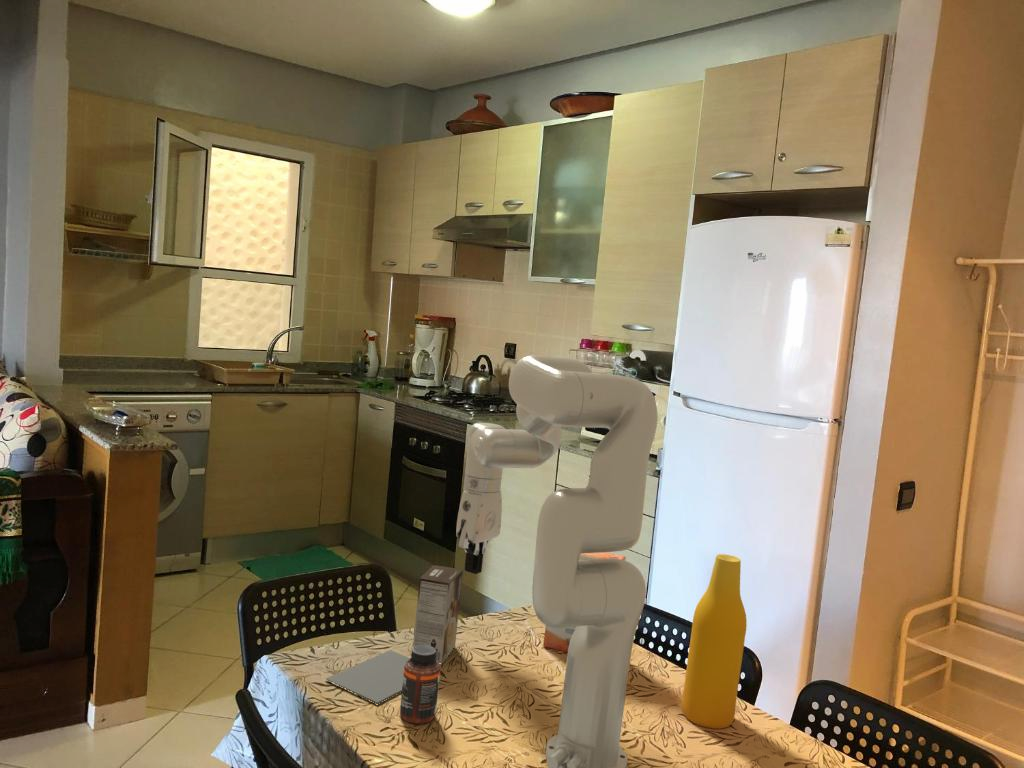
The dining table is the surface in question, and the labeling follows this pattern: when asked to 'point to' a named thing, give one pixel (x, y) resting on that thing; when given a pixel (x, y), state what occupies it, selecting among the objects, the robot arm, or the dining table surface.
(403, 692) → the supplement bottle
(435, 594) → the coffee box
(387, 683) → the mat
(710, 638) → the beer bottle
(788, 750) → the dining table surface
